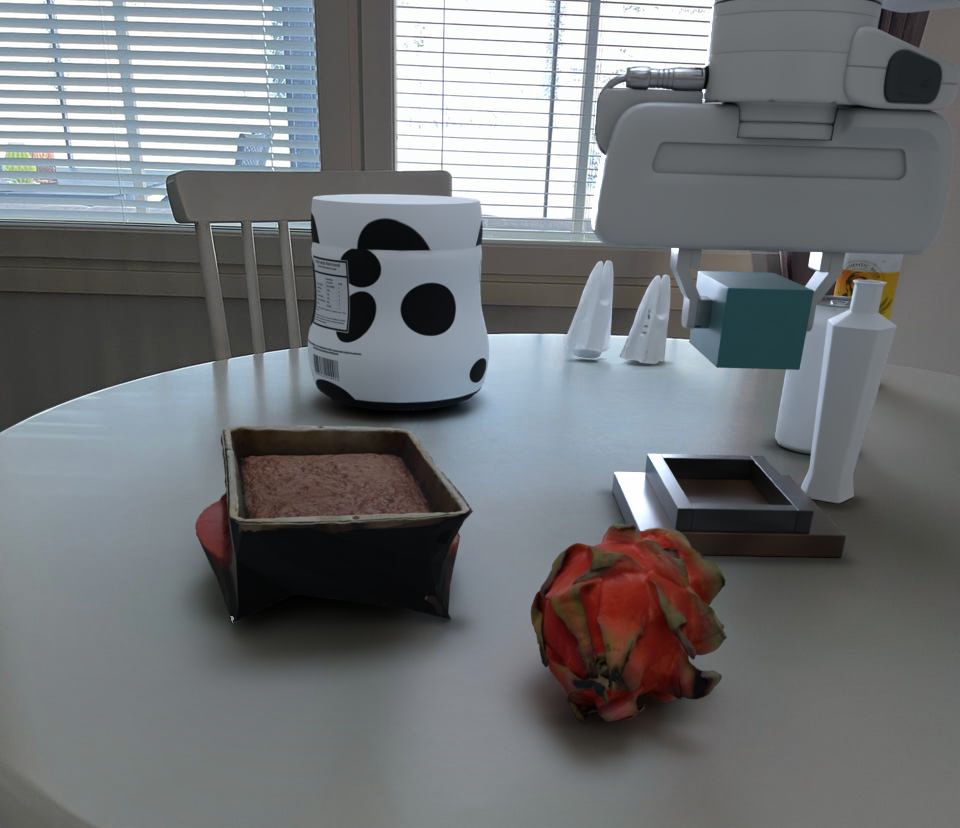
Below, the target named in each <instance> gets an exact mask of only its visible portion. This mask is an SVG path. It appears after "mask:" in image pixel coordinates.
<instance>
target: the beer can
mask: <svg viewBox="0 0 960 828" xmlns="http://www.w3.org/2000/svg"><path fill="white" fill-rule="evenodd" d="M903 258H904V255H903V254H866V253H846V254H845V259H844V264H843V269H842V274H841V275H840V276H839V277H838V279H837V280H836V281H835V286H834V291H833V296H845V297H852V295H853V290H854V285H855V284H854V282H853V280H876V281H882V282H887V284H886V285H885V286H884V288H883V292H882V297H881V302H880V306H879V311H878V313H880V314H881V315H882V316H884V317H885V318H887V319H888V320H889V321H890V317H891V313H892V309H893V304H894V300H895V295H896V290H897V287H898V286H897V285H898V281H899V277H900V273H901V267H902V264H903Z"/></svg>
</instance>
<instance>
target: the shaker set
mask: <svg viewBox="0 0 960 828" xmlns="http://www.w3.org/2000/svg"><path fill="white" fill-rule="evenodd" d="M671 287H672V286H671V277H670V275H669V274H663V275H662V277H661V276H660V275H656V276H654V278H653V279H652V280H651V282H650V283H649V285H648V286H647V289H646V290H645V292H644V295H643V296H642V298H641V302H640V303H639V305H638V308H637V310H636V313H635V316H634V320H633V324H632V326H631V328H630V330H629V333H628V336H627V338H626V341H625V342H624V345H623V348H622V349H621V351H620V353H619V358H620V359H624V360H629V361H630V360H633V361H638V362H639V363H640V364H650V365H656V364H659V363H660V362H665V360H666V348H667V340H668V339H667V337H668V326H669V325H668V324H669V319H670V310H671V292H672V291H671V289H672V288H671ZM613 298H614V264H613V261H612V260H610V259H609V260H606V261H605V263H604V262H603V261H602V260H599V261H597V262H596V263H595V265H594V267H593V268H592V270H591V272H590V274H589V276H588V278H587V281H586V283H585V286H584V288H583V291H582V294H581V296H580V299H579V303H578V306H577V308H576V310H575V313H574V316H573V318H572V321H571V323H570V326H569V329H568V331H567V334H566V336H565V338H564V340H563V345H564V347H565V348H566V349H567V350H568V352H569V353H570V354H572V355H573V356H575V357H578V358H581V359H597V358H599V357H601V355H602V353H604V352H606V351H608V350H609V349H610V347H611V338H612V337H611V335H612V317H613V316H612V315H613V300H614V299H613Z"/></svg>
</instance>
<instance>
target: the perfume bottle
mask: <svg viewBox="0 0 960 828" xmlns="http://www.w3.org/2000/svg"><path fill="white" fill-rule="evenodd" d="M853 282H854V284H855V285H854V290H853V295H852V300H851V305H850V310H848V311H846V312H844V313H841V314H839V315H837V316H835V317H832V318H830V319H828V323H827V331H826V339H825V347H824V355H823V363H822V371H821V379H820V387H819V395H818V403H817V411H816V419H815V427H814V435H813V443H812V450H811V454H810V457H809V458H810V460H809V468H808V470H807V473H806V474H805V477H804V479H803V481H802V484H801V485H800V488H801V489H802V490H803V491H804V492H805V493H806V494H807V495H808V496H809V497H810V498H811V499H812V500H817V501H822V502H828V503H833V504H840V503H841V504H842V503H843V502H845V501H847V500H849V499H852V498H854V497H855V494H854V493H855V492H854V478H853V477H854V473H855V470H856V467H857V463H858V460H859V456H860V453H861V449H862V445H863V443H864V438H865V436H866V433H867V429H868V426H869V422H870V419H871V416H872V413H873V409H874V406H875V402H876V400H877V396H878V392H879V389H880V386H881V382H882V379H883V376H884V372H885V369H886V365H887V362H888V358H889V356H890V352H891V348H892V345H893V342H894V338H895V336H896V332H897V328H898V325H896V324H895V323H894V322H893V321H891V320H890V319H889V320H888V319H887V318H885V317H884V316H882V315H881V314H880V313H878V311H879V306H880V302H881V297H882V292H883V288H884V286H885V285H886V284H887V282H882V281H876V280H853Z"/></svg>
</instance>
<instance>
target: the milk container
mask: <svg viewBox="0 0 960 828" xmlns="http://www.w3.org/2000/svg"><path fill="white" fill-rule="evenodd" d="M310 208H311V209H310V213H311V214H310V234H311V241H312V244H311V249H310V252H311V264H312V265H311V266H312V275H313V288H314V289H313V290H314V291H313V292H314V294H313V308H312V314H311V319H310V325H309V330H308V336H307V358H308V364H309V368H310V372H311V373H310V374H311V376H312V379H313V380H312V381H313V382H314V384H315V386H316V388H317V390H319V392H321V393H322V394H323V395H325V396H327V398H329V399H331V400H332V401H334V402H336V403H337V402H338V403H340V404H341V403H342V404H345V405H348V406H350V407H354V408H359V409H360V408H361V409H369V410H374V411H375V410H376V411H394V412H409V411H426V410H427V411H428V410H432V409H439V408H445V407H451V406H453V405H456V404H457V405H458V404H460V403H461V402H465V401H468V400H470V399H471V398H472V397H474V396H475V395H476V394H477V393H478V392H480V390H481V389H482V388H483V385H484V383H485V380H486V377H487V371H488V367H489V359H490V344H489V343H490V341H489V335H488V331H487V330H488V329H487V326H486V321H485V318H484V313H483V308H482V307H483V305H482V297H481V286H482V285H481V283H482V265H483V263H482V262H483V249H482V244H483V234H484V233H483V232H484V225H483V214H482V212H483V211H482V204H481V200H479V199H477V198H469V197H459V196H447V195H429V194H428V195H427V194H397V193H394V194H393V193H392V194H391V193H356V194H355V193H351V194H346V193H345V194H344V193H342V194H324V195H315V196H313V197H312V200H311V207H310Z"/></svg>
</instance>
